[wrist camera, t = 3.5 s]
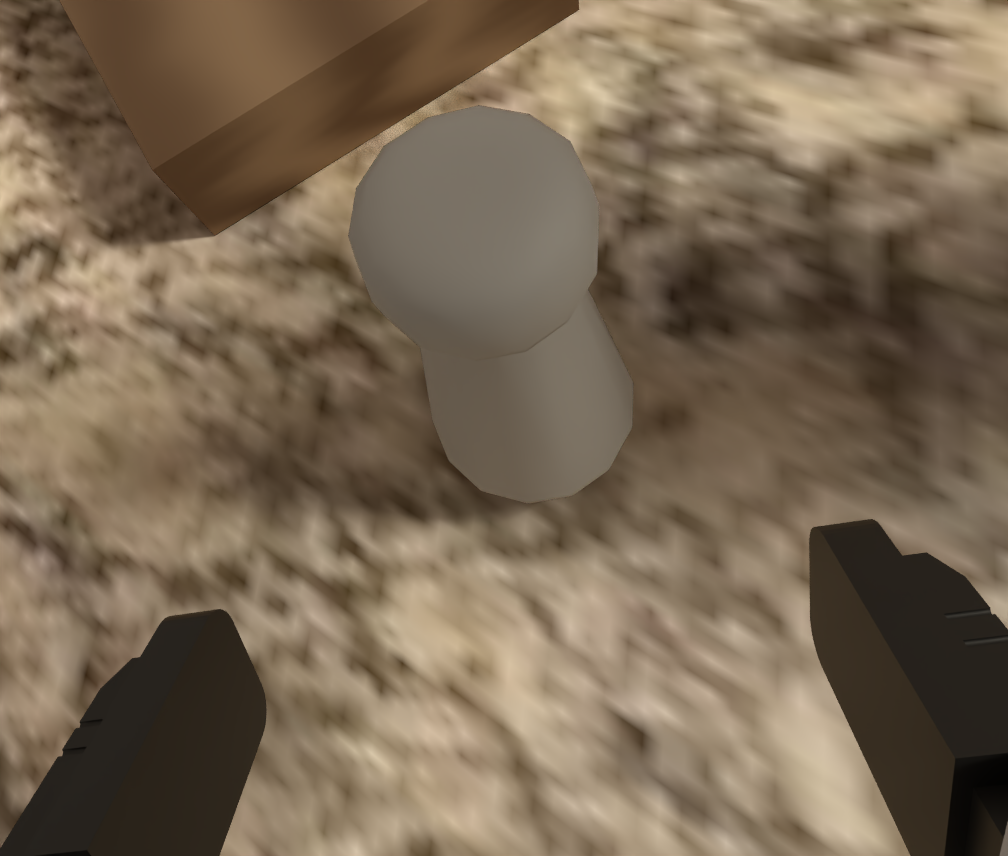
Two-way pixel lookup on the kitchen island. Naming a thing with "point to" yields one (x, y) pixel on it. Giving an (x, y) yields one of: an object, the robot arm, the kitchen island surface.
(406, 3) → the walnut riser
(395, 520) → the kitchen island surface
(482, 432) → the salt shaker
